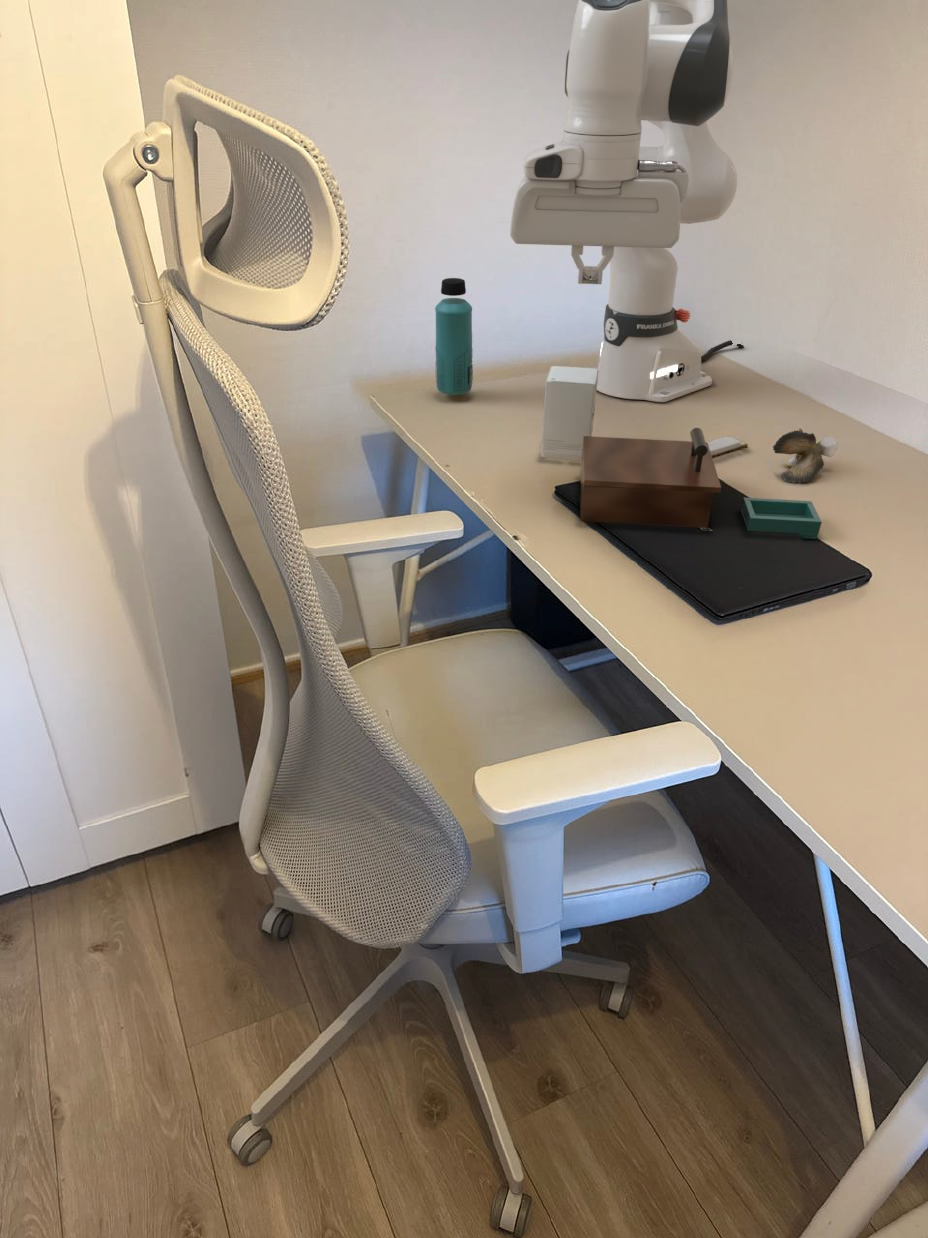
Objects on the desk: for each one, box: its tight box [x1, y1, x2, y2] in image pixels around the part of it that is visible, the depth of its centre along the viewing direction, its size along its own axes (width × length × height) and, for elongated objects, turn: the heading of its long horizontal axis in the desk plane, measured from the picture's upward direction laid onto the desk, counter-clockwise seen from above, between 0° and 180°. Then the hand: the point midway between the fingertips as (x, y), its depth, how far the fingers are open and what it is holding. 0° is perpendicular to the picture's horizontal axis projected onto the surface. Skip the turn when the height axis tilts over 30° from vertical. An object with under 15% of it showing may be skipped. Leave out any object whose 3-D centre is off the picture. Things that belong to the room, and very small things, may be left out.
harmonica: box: [706, 436, 749, 459], centre depth 137 cm, size 15×3×2 cm, turn 123°
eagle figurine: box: [772, 428, 838, 484], centre depth 132 cm, size 8×7×9 cm
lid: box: [583, 427, 722, 494], centre depth 120 cm, size 17×15×5 cm
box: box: [579, 448, 715, 528], centre depth 123 cm, size 17×15×6 cm
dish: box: [740, 497, 822, 540], centre depth 118 cm, size 9×6×3 cm, turn 84°
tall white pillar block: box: [540, 365, 598, 461], centre depth 135 cm, size 7×7×13 cm
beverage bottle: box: [434, 277, 474, 396], centre depth 153 cm, size 6×7×20 cm
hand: (589, 282), depth 111 cm, fingers closed
